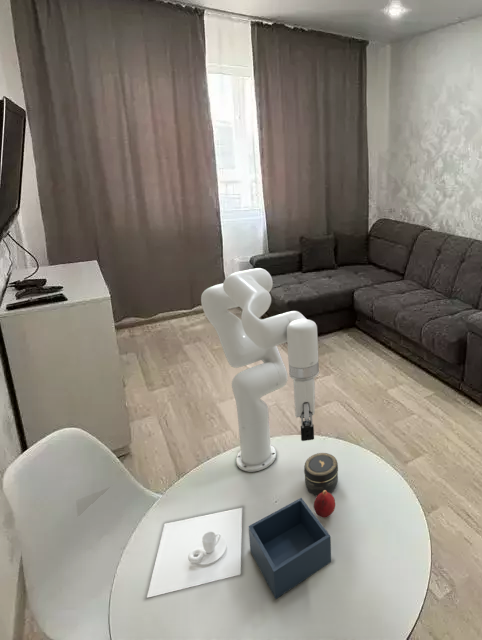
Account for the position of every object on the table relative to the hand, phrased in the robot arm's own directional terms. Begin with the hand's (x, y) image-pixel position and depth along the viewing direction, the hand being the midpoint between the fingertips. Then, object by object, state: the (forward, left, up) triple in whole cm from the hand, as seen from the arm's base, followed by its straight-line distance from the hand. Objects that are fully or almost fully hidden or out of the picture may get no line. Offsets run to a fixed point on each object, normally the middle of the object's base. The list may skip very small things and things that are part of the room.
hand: (306, 427), depth 108 cm
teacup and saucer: (-7, -27, -27) cm, 39 cm away
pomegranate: (+4, +3, -27) cm, 27 cm away
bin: (+9, -10, -27) cm, 30 cm away
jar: (-6, +8, -27) cm, 28 cm away
